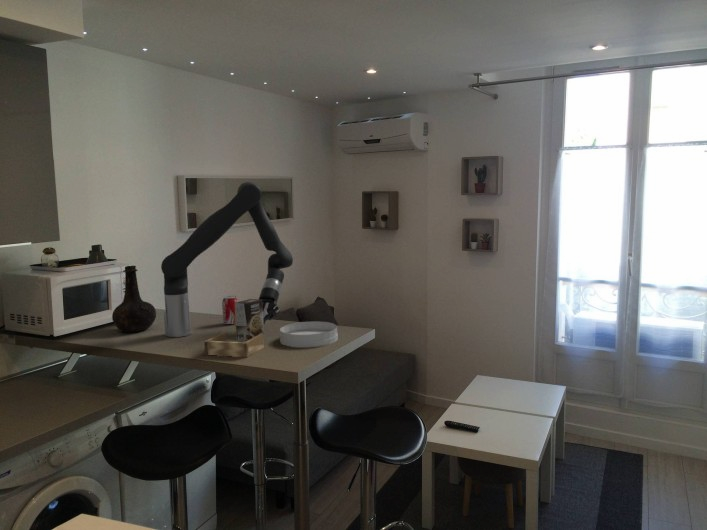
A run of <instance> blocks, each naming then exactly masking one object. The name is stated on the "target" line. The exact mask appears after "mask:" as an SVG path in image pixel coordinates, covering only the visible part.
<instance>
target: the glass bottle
mask: <svg viewBox="0 0 707 530" xmlns="http://www.w3.org/2000/svg"><path fill="white" fill-rule="evenodd" d="M138 271H139V270H138V269H137V266H136V265H126V266H124V270H122V272H125V273H124V275H125V276H124V277H125V283H124V284H125V286H124V297H123V300H122V302H121V303H120V304H118V305H117V306H116V307H115V308H114V310H113V311H112V314H111V317H112V318H111V319H112V322H113V325H114V326H115V327H116V328H117V329H118V330H120V331H121V332H125V333H137V332H141V331H142V332H143V331H145V330H147V329H149V328H150V327H151V326H152V325H153V324H154V322H155V320H156V318H157V310H156V308H155V306H154V305H153V304H152V303H150V302H148V301H145V300H143V299H142V297H141V295H140V290H139V285H138V278H137V272H138Z"/></svg>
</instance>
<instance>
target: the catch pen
mask: <svg viewBox="0 0 707 530" xmlns="http://www.w3.org/2000/svg"><path fill="white" fill-rule="evenodd" d="M264 341H265V340H264ZM264 341H263V334H259V335H257V336H255V337H254V338H252V339H250V340H248V341H246V342H237V341H227V332H221V333H219V334H217V335H215V336H213V337H210V338H209V339H207V340H204V341H203V342H204V355H205V356H207V355H217V356H216V357H227V356H232V358H249V357H250V355H251V356H252V355H254V354H255V353H257V352H259V351H260V350H262V349H264V348H265V343H264Z"/></svg>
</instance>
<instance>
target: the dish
mask: <svg viewBox="0 0 707 530" xmlns="http://www.w3.org/2000/svg"><path fill="white" fill-rule="evenodd" d="M279 334H280V336H279V341H280V344H281V345H283V346H285V345H286V346H285V347H289V346H290V348H316V347H323V346H328V345H331V344H333V343H336V342H337V341H338V339H339V335H338V326H337V324H334V323H333V322H328V321H301V322H294V323H289V324H286V325H284V326H281V327H280V329H279Z"/></svg>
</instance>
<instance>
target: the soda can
mask: <svg viewBox="0 0 707 530" xmlns="http://www.w3.org/2000/svg"><path fill="white" fill-rule="evenodd" d="M235 302H239V300H238V298H237V295H226V296H223V299H222V302H221V304H222V305H221V306H222V321H223V324H225V325H226V324H234V325H236V317H235Z"/></svg>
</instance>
